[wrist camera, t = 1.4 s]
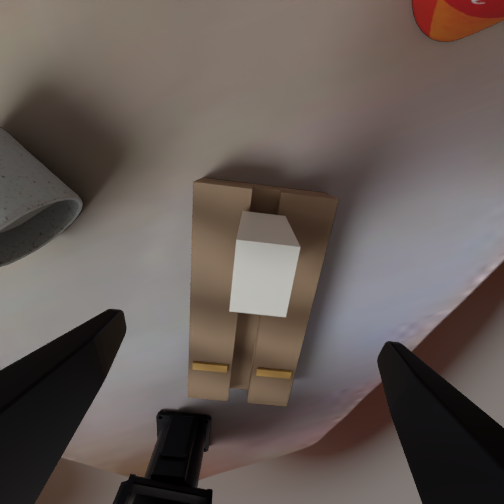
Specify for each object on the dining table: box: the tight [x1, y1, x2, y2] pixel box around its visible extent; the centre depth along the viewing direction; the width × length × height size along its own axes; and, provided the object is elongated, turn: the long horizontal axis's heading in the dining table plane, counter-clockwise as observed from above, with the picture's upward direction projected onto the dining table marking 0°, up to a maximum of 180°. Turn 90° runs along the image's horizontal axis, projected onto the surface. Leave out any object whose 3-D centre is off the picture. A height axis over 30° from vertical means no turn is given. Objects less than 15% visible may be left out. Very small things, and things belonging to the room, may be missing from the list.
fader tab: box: [229, 211, 301, 317], centre depth 15 cm, size 4×3×8 cm
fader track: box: [188, 178, 339, 407], centre depth 22 cm, size 21×10×3 cm, turn 173°
